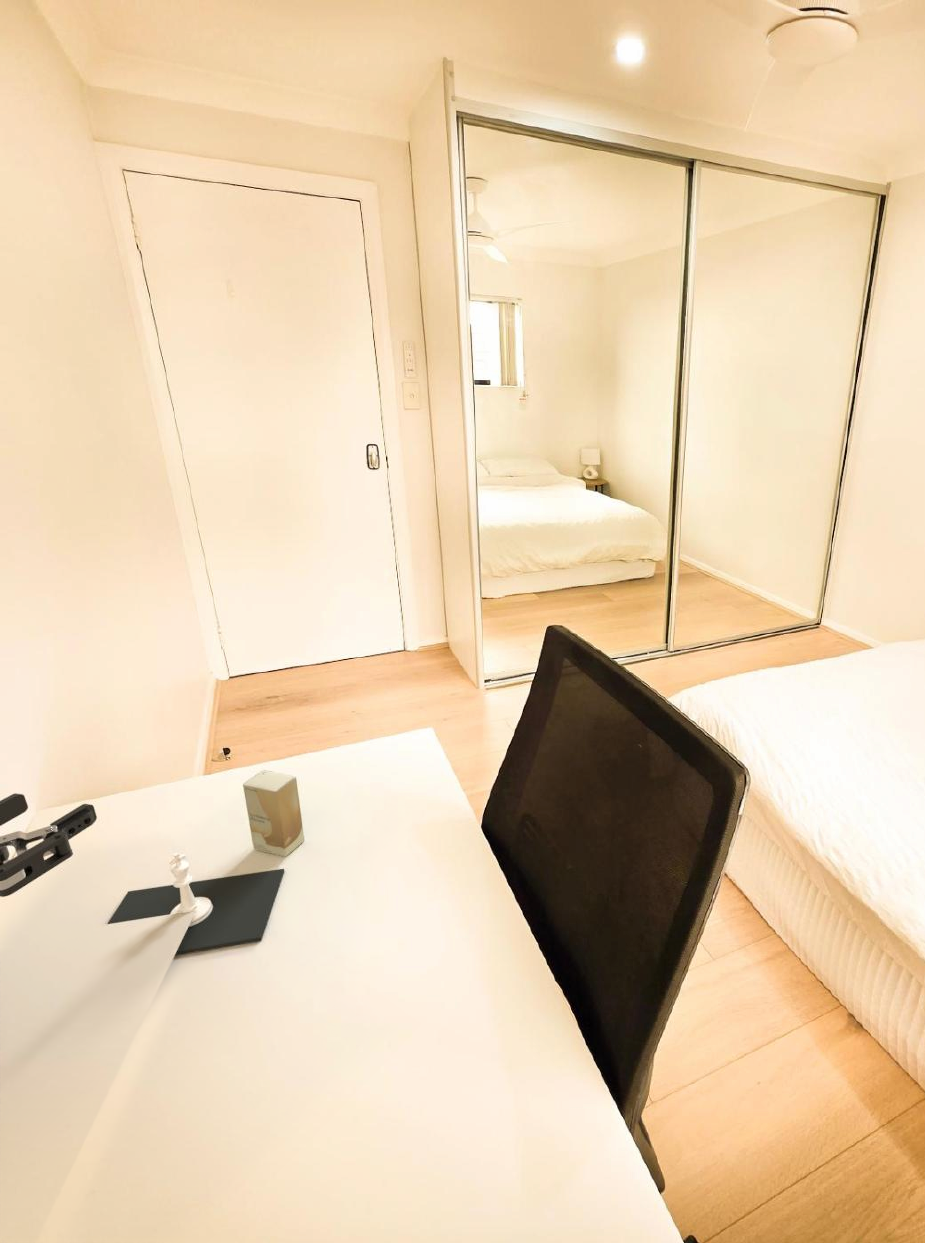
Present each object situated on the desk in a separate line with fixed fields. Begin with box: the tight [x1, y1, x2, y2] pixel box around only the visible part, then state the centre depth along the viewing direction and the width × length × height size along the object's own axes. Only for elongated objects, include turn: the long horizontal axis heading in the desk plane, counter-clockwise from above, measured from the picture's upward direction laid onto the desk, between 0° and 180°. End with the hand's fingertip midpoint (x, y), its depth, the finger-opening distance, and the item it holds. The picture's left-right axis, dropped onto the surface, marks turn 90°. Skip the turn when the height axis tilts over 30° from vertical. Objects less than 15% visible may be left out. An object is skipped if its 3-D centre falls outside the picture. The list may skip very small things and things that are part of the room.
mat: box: [107, 868, 285, 956], centre depth 83 cm, size 20×13×1 cm, turn 105°
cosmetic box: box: [242, 769, 305, 857], centre depth 95 cm, size 6×4×12 cm
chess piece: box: [168, 852, 213, 927], centre depth 81 cm, size 5×5×10 cm
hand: (57, 805), depth 64 cm, fingers open, 8 cm apart
